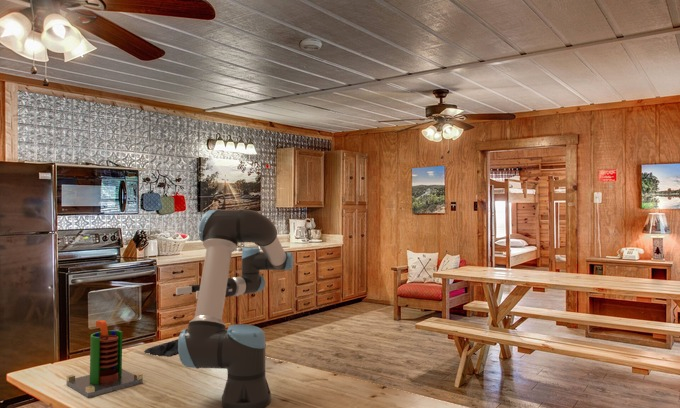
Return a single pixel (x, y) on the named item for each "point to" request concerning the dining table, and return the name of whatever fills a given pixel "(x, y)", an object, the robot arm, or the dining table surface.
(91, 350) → the motor
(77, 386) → the plate
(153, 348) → the dark slate chunk
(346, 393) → the dining table surface
